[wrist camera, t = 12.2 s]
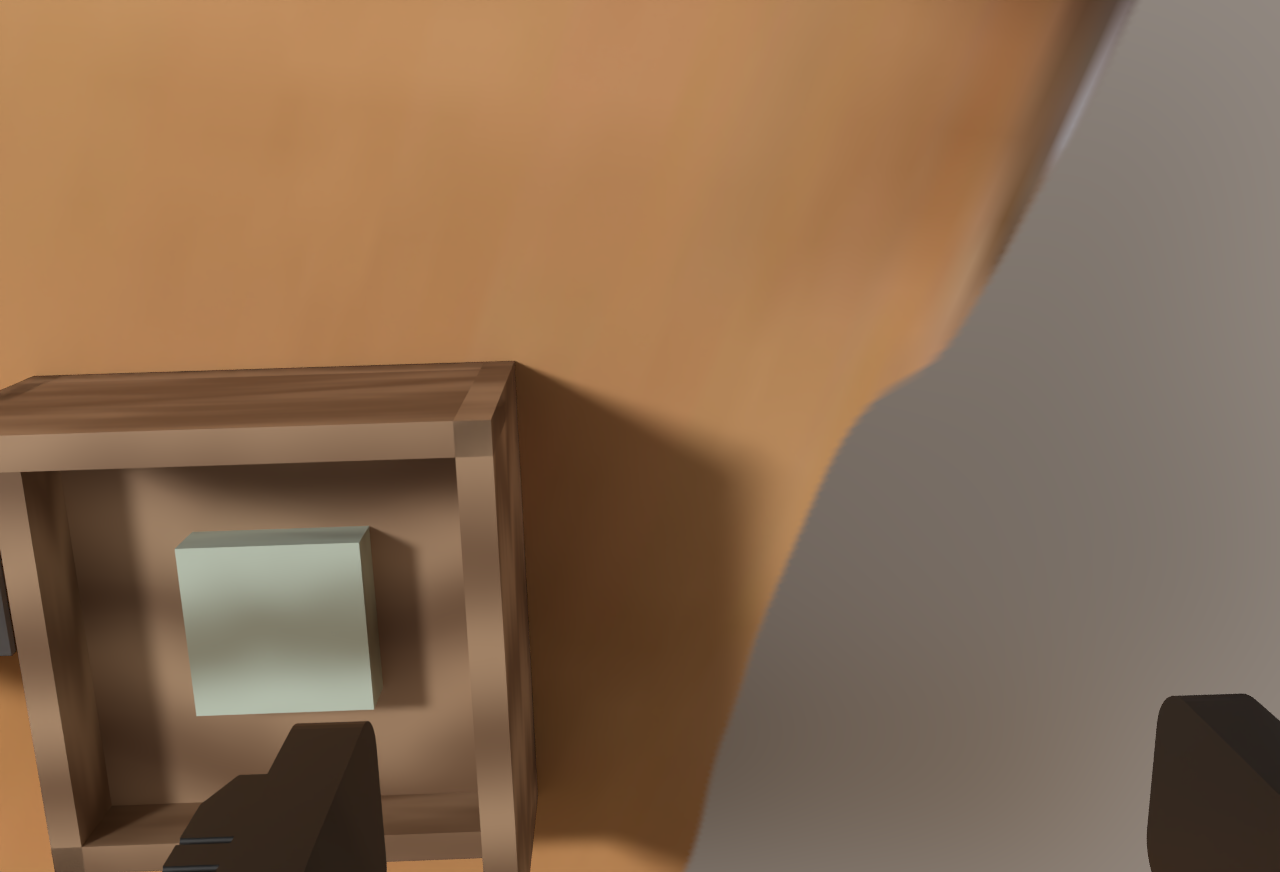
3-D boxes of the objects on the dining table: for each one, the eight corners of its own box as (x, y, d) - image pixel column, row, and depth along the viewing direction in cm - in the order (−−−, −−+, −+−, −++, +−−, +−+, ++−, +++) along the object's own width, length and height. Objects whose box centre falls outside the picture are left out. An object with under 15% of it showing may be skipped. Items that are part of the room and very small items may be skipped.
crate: (33, 376, 47) (-115, 439, 37) (514, 360, 48) (490, 419, 38) (101, 812, 52) (-15, 968, 42) (537, 795, 52) (522, 946, 43)
